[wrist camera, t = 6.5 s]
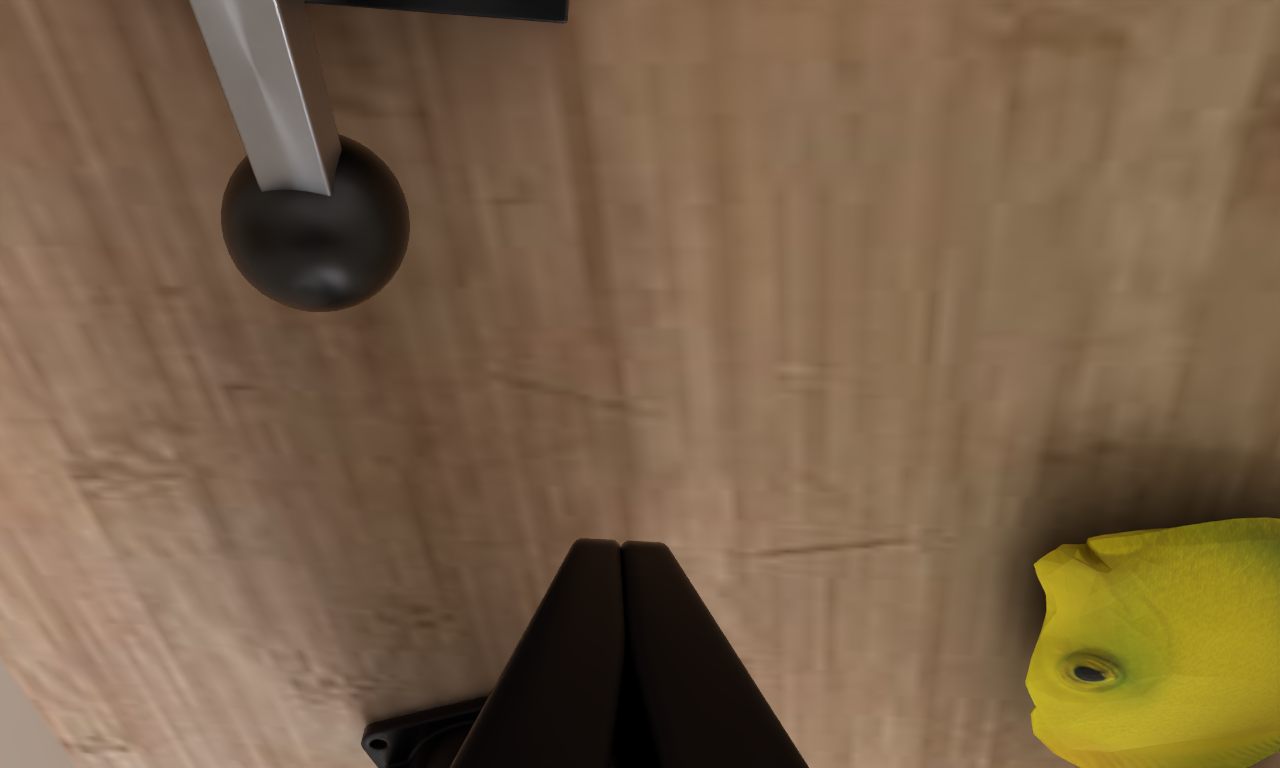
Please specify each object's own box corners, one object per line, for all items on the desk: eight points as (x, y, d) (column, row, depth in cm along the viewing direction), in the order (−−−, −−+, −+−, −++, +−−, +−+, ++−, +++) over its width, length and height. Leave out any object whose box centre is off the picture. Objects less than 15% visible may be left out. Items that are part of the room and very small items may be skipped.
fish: (1168, 487, 21) (911, 777, 25) (1584, 640, 26) (1313, 858, 30) (1098, 415, 23) (874, 691, 27) (1493, 568, 28) (1253, 779, 33)
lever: (427, 215, 18) (408, 350, 17) (265, 205, 18) (231, 340, 17) (288, -695, 8) (205, -550, 7) (-91, -745, 8) (-261, -608, 6)
